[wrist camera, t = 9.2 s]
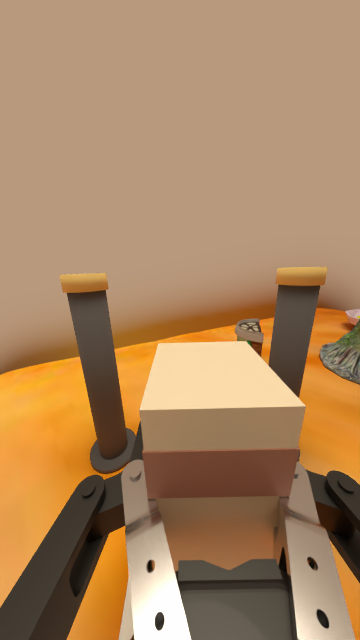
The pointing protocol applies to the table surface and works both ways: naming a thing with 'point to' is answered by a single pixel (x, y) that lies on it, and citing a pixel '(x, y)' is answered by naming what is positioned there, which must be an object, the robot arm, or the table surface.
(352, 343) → the tree stump
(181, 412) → the carton
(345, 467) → the table surface
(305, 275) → the gate
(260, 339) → the food container
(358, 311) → the fruit bowl
